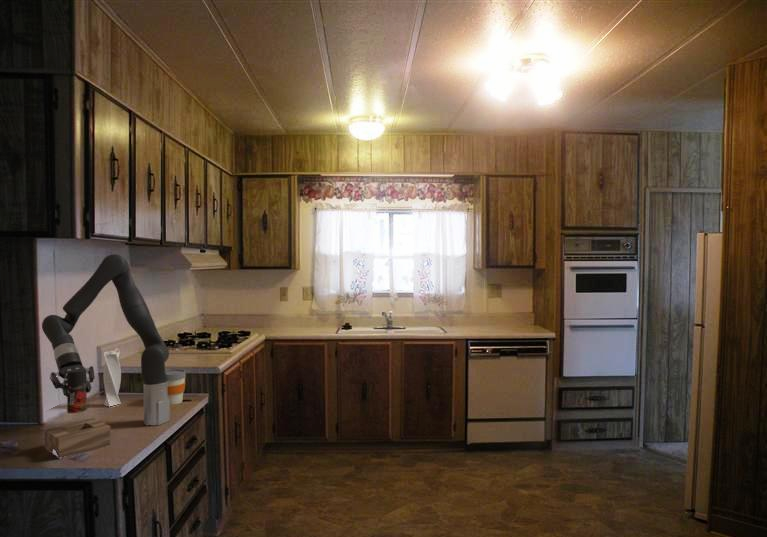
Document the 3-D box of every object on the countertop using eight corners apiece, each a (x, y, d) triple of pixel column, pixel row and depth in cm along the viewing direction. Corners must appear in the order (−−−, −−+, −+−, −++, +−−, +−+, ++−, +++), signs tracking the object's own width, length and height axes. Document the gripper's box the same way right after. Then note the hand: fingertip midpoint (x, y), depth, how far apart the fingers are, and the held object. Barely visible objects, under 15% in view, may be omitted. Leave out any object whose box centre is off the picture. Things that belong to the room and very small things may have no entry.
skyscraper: (125, 404, 217) (124, 347, 217) (109, 408, 210) (108, 350, 210) (116, 402, 221) (115, 346, 221) (100, 406, 214) (99, 348, 214)
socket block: (110, 444, 165) (109, 426, 165) (59, 459, 152) (58, 439, 152) (93, 435, 175) (93, 417, 175) (44, 448, 162) (44, 429, 162)
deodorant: (65, 414, 160) (65, 372, 160) (69, 409, 165) (69, 369, 165) (84, 411, 162) (84, 371, 162) (88, 407, 168) (88, 368, 168)
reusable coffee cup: (167, 407, 210) (167, 376, 211) (153, 403, 217) (152, 373, 217) (191, 400, 221) (191, 371, 221) (176, 397, 228) (176, 368, 228)
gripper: (46, 354, 163) (57, 391, 155) (91, 348, 174) (103, 383, 167) (42, 367, 166) (53, 404, 159) (86, 360, 177) (98, 394, 170)
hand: (78, 393), depth 163 cm, fingers closed on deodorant, 6 cm apart
